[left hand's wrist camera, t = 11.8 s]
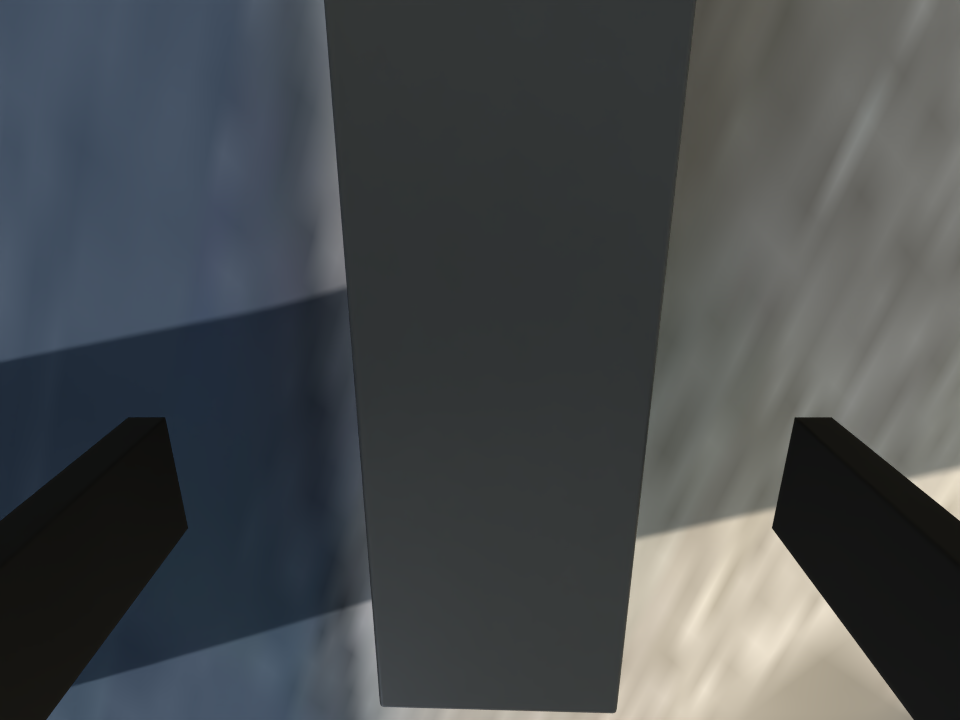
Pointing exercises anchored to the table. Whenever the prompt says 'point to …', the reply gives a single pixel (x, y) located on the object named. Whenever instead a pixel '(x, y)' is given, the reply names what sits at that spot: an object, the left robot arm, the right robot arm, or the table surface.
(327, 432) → the table surface
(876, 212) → the table surface
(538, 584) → the post
